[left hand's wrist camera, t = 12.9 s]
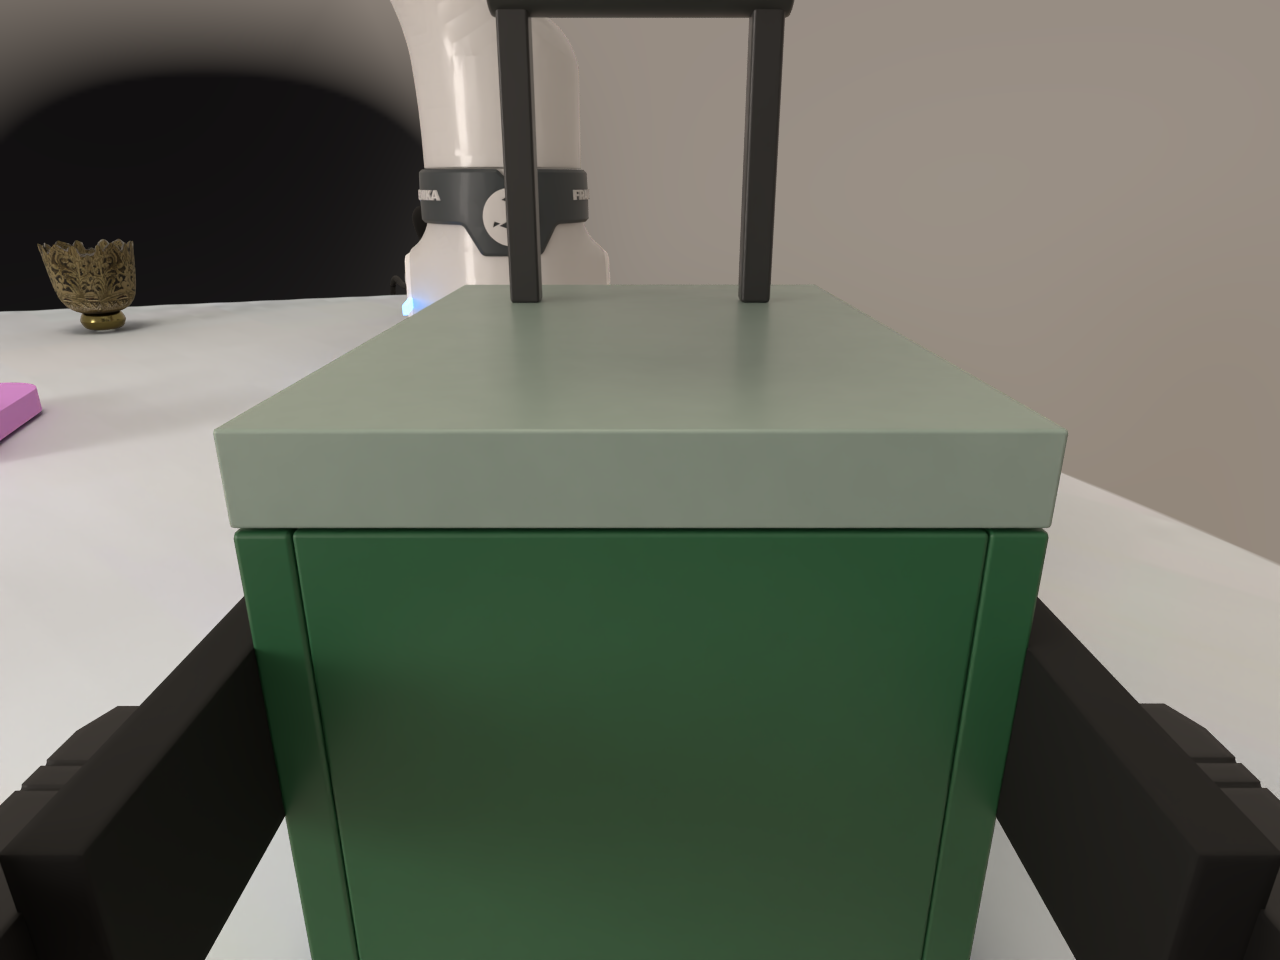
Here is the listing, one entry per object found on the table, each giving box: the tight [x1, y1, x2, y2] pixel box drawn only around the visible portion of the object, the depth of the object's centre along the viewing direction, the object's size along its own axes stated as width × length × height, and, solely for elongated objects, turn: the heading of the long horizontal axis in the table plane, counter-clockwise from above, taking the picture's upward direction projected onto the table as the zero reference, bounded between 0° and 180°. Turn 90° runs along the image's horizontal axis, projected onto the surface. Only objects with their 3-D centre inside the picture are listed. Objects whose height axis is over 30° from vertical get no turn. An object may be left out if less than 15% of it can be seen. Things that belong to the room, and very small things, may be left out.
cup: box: [38, 239, 136, 330], centre depth 77 cm, size 7×7×8 cm
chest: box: [234, 528, 1048, 960], centre depth 18 cm, size 14×10×9 cm
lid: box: [213, 0, 1068, 528], centre depth 15 cm, size 14×10×9 cm
